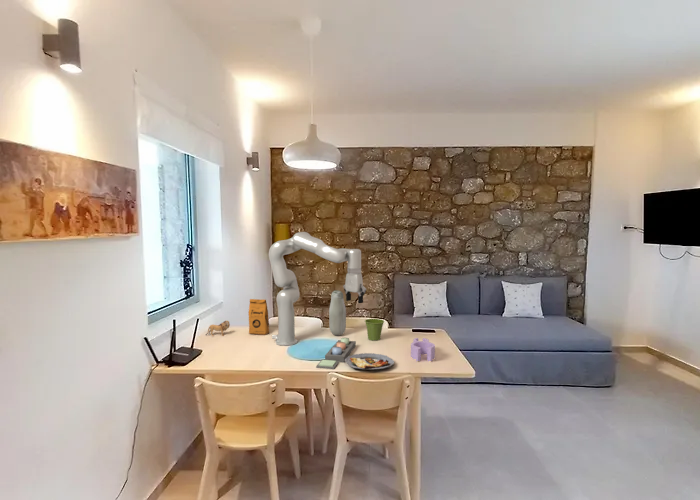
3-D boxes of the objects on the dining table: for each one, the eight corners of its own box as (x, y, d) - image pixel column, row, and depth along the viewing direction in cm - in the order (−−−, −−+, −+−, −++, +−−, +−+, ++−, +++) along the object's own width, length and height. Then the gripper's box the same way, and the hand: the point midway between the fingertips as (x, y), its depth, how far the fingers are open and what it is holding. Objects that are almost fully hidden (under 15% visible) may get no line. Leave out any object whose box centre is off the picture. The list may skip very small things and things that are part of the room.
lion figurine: (230, 333, 275) (229, 319, 274) (229, 335, 270) (229, 321, 269) (205, 334, 272) (205, 320, 271) (204, 337, 267) (204, 322, 266)
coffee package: (265, 336, 269) (264, 301, 267) (246, 335, 272) (246, 300, 270) (271, 332, 279) (271, 298, 277) (253, 330, 281) (252, 297, 280)
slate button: (331, 356, 225) (331, 349, 225) (333, 354, 230) (333, 346, 229) (340, 357, 224) (340, 349, 224) (342, 354, 229) (342, 347, 228)
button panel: (325, 360, 223) (325, 355, 223) (338, 345, 250) (338, 340, 250) (344, 362, 221) (344, 356, 221) (355, 346, 248) (355, 341, 248)
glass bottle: (348, 334, 273) (348, 290, 270) (337, 338, 265) (337, 292, 263) (337, 331, 279) (337, 288, 277) (326, 335, 272) (326, 290, 269)
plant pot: (381, 342, 255) (381, 323, 254) (361, 340, 259) (362, 322, 259) (386, 337, 266) (386, 319, 266) (368, 335, 270) (368, 317, 270)
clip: (408, 350, 242) (409, 337, 242) (431, 350, 242) (431, 338, 241) (412, 361, 222) (412, 348, 222) (436, 362, 222) (436, 349, 221)
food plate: (401, 369, 210) (401, 362, 210) (356, 376, 202) (356, 368, 202) (380, 355, 234) (380, 349, 234) (339, 360, 226) (339, 354, 226)
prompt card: (316, 367, 213) (316, 364, 213) (321, 361, 222) (321, 358, 222) (334, 369, 211) (334, 366, 211) (338, 363, 220) (338, 360, 220)
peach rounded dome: (335, 351, 234) (335, 344, 233) (337, 348, 238) (337, 341, 238) (344, 352, 233) (344, 344, 232) (346, 349, 237) (346, 342, 237)
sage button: (339, 346, 242) (339, 339, 242) (341, 344, 247) (341, 337, 247) (348, 347, 241) (348, 340, 241) (350, 344, 246) (350, 337, 246)
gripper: (338, 270, 245) (339, 300, 246) (360, 273, 233) (360, 305, 234) (348, 269, 250) (348, 298, 252) (370, 272, 238) (370, 303, 239)
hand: (354, 301), depth 243 cm, fingers open, 9 cm apart
